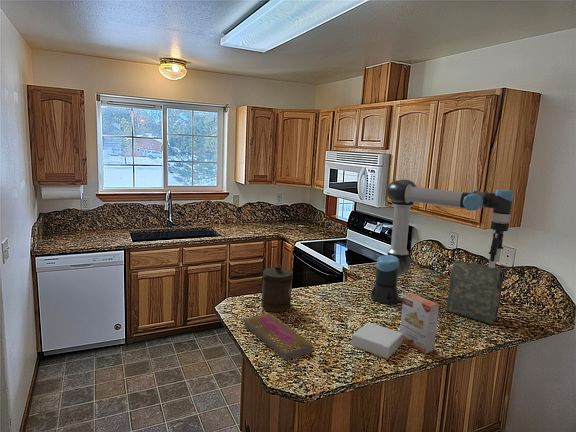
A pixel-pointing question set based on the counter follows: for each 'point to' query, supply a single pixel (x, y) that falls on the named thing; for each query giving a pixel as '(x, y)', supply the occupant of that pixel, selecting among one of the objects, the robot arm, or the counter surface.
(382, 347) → the marble slab
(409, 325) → the cracker box
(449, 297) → the bag
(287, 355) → the brown and pink box
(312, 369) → the counter surface
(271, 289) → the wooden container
